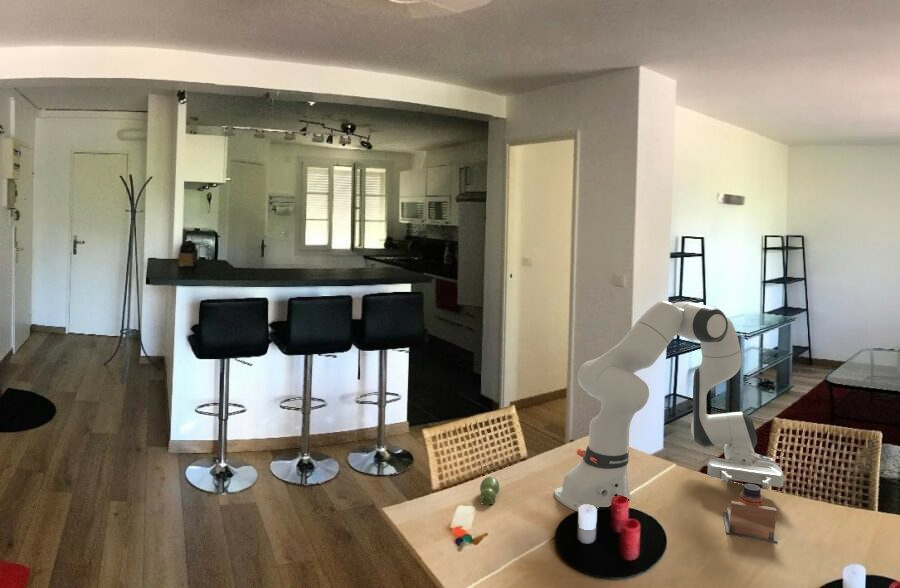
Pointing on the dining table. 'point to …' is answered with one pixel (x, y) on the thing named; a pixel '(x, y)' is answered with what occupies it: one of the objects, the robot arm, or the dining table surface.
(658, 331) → the robot arm
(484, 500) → the green rounded lumpy piece
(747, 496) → the supplement bottle
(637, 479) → the dining table surface
